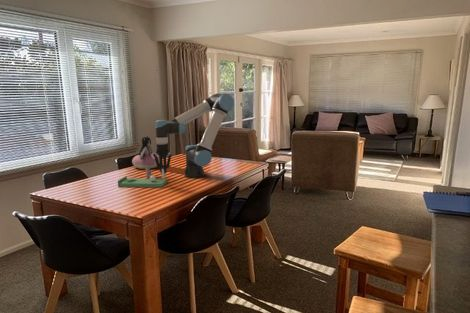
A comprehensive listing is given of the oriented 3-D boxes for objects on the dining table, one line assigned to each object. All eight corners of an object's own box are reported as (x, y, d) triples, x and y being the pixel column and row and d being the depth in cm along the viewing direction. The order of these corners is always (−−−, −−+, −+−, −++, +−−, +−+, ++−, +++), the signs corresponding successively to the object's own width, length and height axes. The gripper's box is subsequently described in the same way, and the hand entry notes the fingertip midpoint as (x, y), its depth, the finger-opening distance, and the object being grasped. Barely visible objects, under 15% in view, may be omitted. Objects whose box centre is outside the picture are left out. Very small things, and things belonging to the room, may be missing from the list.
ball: (156, 180, 225) (156, 174, 224) (154, 182, 221) (154, 176, 221) (151, 180, 226) (150, 174, 225) (149, 182, 222) (148, 176, 221)
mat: (167, 182, 229) (166, 176, 228) (161, 187, 217) (161, 181, 217) (125, 181, 232) (125, 176, 231) (118, 186, 220) (117, 180, 219)
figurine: (147, 180, 234) (145, 139, 228) (134, 180, 236) (131, 138, 230) (160, 173, 255) (158, 134, 249) (148, 172, 257) (146, 134, 251)
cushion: (165, 163, 291) (164, 152, 289) (160, 170, 266) (159, 157, 264) (136, 163, 290) (136, 152, 288) (128, 170, 265) (127, 158, 263)
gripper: (173, 142, 221) (174, 176, 225) (154, 142, 222) (156, 176, 226) (170, 144, 213) (171, 179, 218) (150, 144, 215) (152, 179, 219)
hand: (163, 177), depth 222 cm, fingers closed
